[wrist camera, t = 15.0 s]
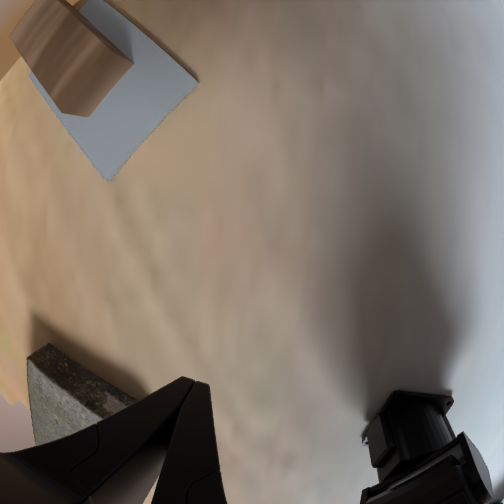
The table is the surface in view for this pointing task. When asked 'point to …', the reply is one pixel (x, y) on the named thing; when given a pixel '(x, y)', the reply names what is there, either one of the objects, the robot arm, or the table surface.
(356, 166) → the table surface
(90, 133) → the mat
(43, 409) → the stone block
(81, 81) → the walnut slab
